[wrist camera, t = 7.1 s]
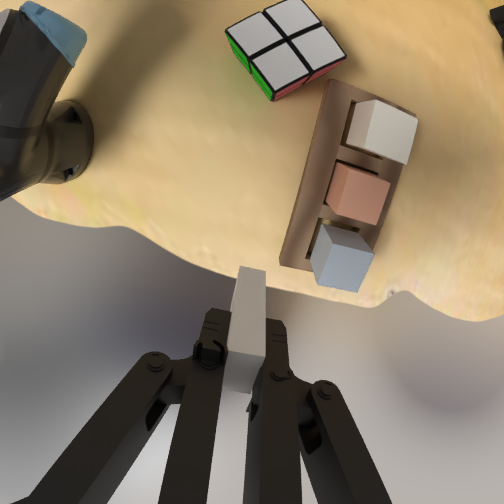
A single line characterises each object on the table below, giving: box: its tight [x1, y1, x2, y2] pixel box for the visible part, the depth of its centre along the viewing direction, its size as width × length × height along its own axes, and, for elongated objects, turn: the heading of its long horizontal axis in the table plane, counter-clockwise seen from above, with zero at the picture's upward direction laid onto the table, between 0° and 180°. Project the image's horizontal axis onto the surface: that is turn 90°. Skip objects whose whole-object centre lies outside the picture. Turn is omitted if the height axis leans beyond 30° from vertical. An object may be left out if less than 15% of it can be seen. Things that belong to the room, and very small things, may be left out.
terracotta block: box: [325, 162, 391, 225], centre depth 35 cm, size 6×6×7 cm
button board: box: [279, 79, 416, 272], centre depth 38 cm, size 14×29×2 cm, turn 167°
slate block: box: [310, 224, 374, 292], centre depth 36 cm, size 6×6×7 cm
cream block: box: [346, 100, 418, 165], centre depth 29 cm, size 6×6×7 cm
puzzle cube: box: [225, 0, 347, 102], centre depth 27 cm, size 10×10×10 cm
